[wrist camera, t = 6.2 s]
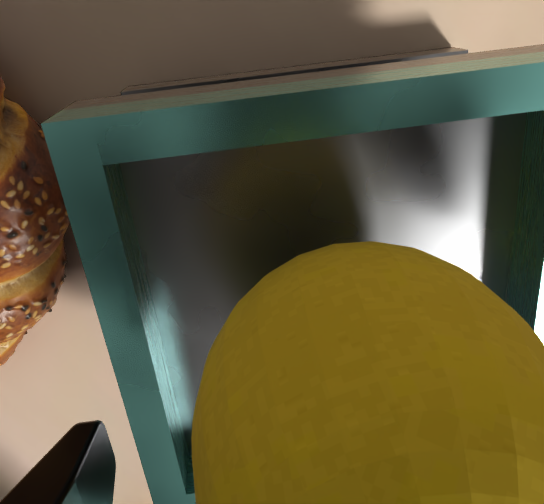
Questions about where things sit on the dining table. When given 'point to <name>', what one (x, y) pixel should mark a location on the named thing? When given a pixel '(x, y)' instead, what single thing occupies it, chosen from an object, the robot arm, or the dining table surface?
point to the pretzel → (27, 226)
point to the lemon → (371, 388)
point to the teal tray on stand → (290, 201)
